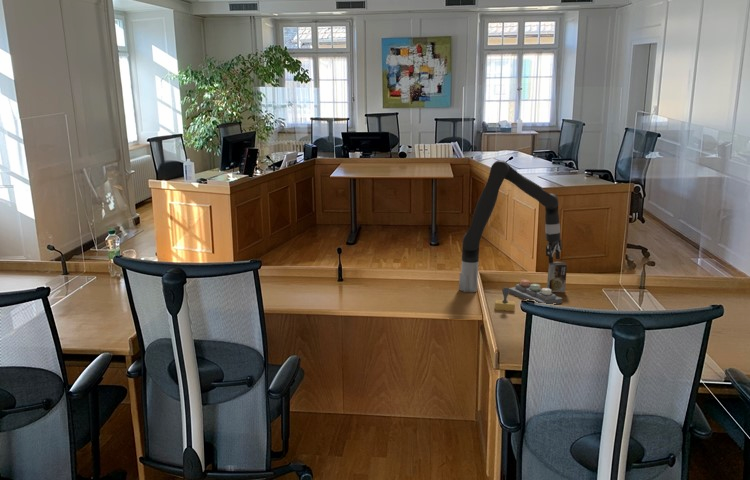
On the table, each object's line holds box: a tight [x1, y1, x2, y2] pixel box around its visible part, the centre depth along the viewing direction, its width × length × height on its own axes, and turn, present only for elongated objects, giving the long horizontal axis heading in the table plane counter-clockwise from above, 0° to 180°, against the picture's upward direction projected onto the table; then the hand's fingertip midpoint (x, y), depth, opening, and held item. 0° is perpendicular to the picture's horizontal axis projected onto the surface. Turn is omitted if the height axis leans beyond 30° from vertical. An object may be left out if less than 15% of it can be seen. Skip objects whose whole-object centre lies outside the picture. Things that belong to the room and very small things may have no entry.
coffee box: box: [546, 261, 568, 293], centre depth 347 cm, size 9×6×16 cm
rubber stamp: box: [494, 286, 516, 312], centre depth 319 cm, size 10×6×12 cm, turn 78°
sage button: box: [530, 283, 541, 291], centre depth 336 cm, size 5×5×2 cm
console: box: [508, 283, 563, 305], centre depth 337 cm, size 14×26×4 cm, turn 30°
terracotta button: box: [519, 279, 531, 287], centre depth 342 cm, size 5×5×2 cm
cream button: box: [541, 287, 552, 296], centre depth 329 cm, size 5×5×2 cm
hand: (554, 261), depth 332 cm, fingers open, 8 cm apart
